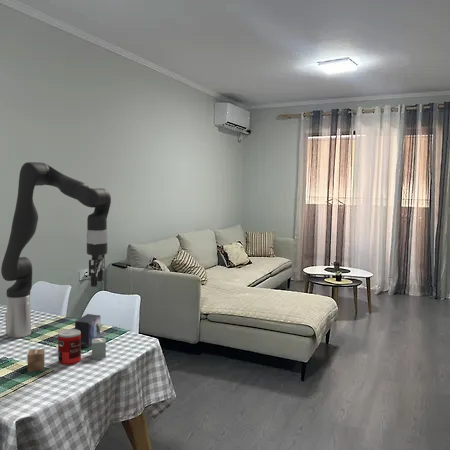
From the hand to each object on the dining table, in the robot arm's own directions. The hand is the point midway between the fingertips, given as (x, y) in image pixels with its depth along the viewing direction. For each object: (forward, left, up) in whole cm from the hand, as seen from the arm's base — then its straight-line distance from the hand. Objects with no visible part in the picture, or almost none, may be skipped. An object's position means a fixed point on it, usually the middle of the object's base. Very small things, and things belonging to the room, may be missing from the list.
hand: (97, 283), depth 170 cm
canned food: (-4, -10, -28) cm, 30 cm away
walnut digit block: (-10, -20, -28) cm, 36 cm away
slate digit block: (+2, -1, -28) cm, 28 cm away
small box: (-11, +8, -28) cm, 31 cm away
